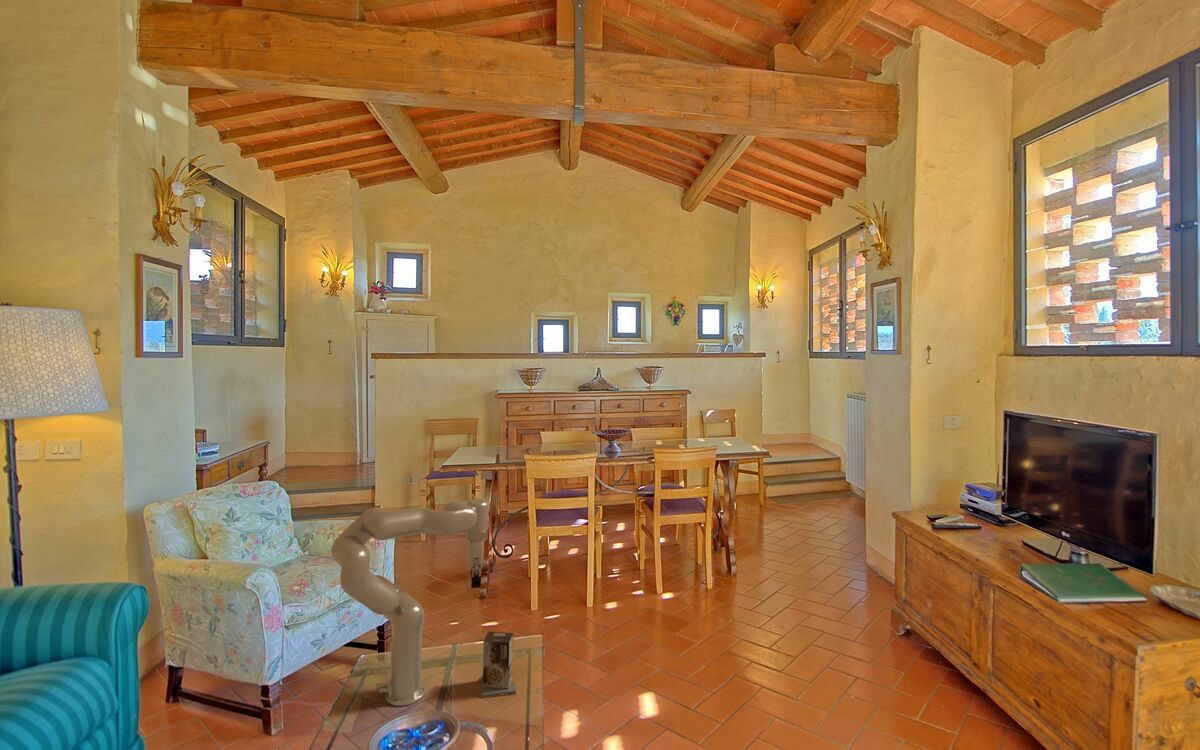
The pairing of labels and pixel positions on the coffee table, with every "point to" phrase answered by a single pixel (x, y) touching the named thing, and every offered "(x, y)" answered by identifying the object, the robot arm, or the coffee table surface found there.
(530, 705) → the coffee table surface
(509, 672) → the coffee box
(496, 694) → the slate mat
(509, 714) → the coffee table surface
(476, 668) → the coffee table surface
